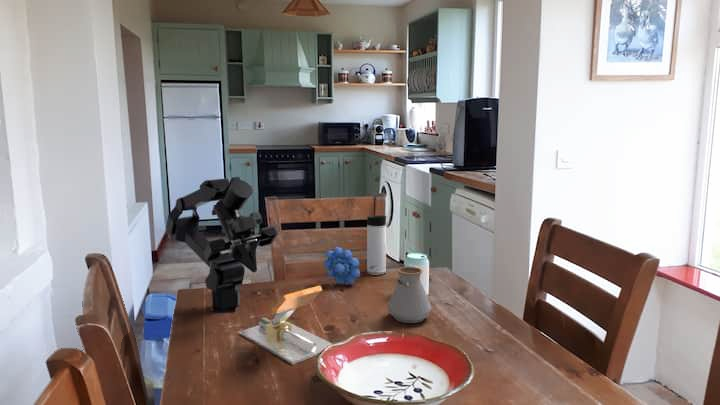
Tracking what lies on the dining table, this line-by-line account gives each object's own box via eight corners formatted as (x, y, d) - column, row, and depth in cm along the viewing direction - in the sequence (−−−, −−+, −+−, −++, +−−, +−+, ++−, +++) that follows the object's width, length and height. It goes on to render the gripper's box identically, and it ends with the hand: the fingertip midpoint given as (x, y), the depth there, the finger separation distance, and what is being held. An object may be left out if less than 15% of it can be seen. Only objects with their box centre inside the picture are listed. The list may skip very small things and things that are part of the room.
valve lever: (257, 324, 123) (283, 294, 114) (292, 313, 130) (319, 284, 120) (260, 330, 123) (286, 301, 113) (295, 319, 129) (322, 290, 120)
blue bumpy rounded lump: (320, 287, 162) (319, 249, 160) (326, 280, 169) (325, 244, 167) (357, 290, 160) (357, 251, 158) (361, 283, 166) (361, 246, 164)
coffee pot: (392, 307, 145) (392, 254, 143) (434, 311, 142) (435, 257, 140) (373, 339, 125) (373, 278, 122) (421, 344, 122) (423, 282, 119)
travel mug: (373, 277, 172) (373, 217, 169) (363, 272, 178) (363, 213, 175) (389, 274, 175) (390, 215, 172) (379, 269, 181) (380, 212, 178)
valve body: (239, 333, 128) (239, 320, 128) (280, 320, 136) (280, 308, 136) (292, 364, 112) (292, 350, 112) (335, 347, 120) (335, 334, 120)
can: (418, 289, 160) (419, 251, 158) (433, 296, 154) (434, 256, 152) (399, 293, 157) (400, 254, 155) (413, 300, 151) (414, 259, 149)
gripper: (204, 210, 126) (229, 266, 121) (272, 196, 138) (297, 247, 132) (194, 233, 134) (217, 287, 129) (259, 218, 146) (282, 267, 140)
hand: (255, 271), depth 132 cm, fingers closed
